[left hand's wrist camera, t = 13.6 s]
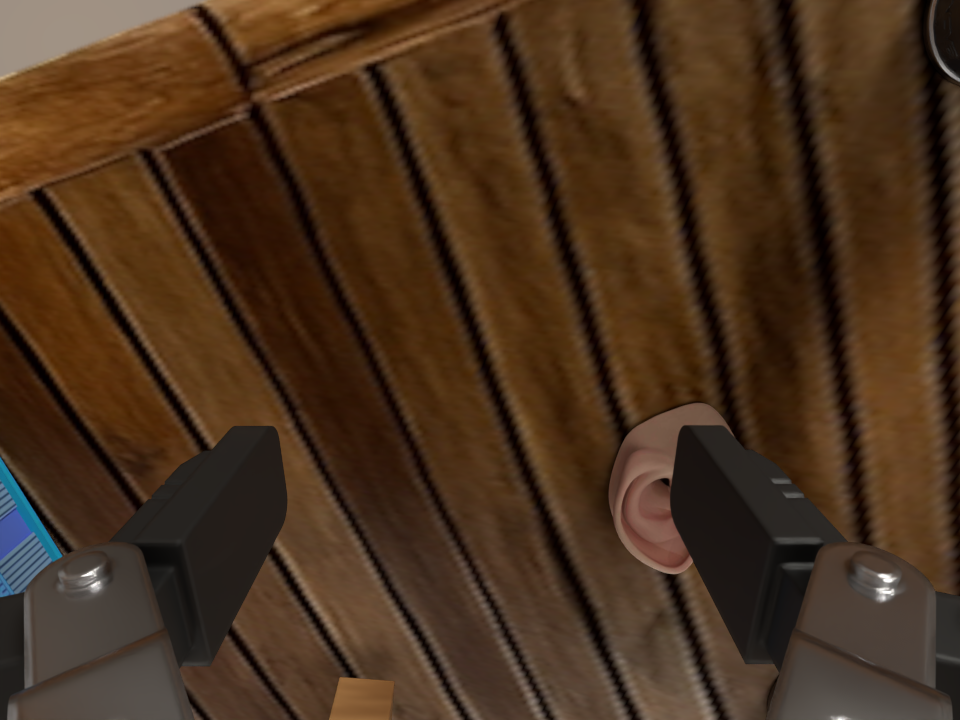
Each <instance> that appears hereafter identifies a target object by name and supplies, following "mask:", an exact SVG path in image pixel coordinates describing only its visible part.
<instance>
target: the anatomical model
mask: <svg viewBox="0 0 960 720" xmlns="http://www.w3.org/2000/svg"><path fill="white" fill-rule="evenodd" d="M684 425H723V426H725V427H726V428H727V429H728V431H729V432H730V433H731V434H732V435H733V433H732V431H731V430H730V428H729V426H728V425H727V423H726V422H725V420H724V419H723V418H722V416H721V415H720V414H719V413H718V412H717V411H716V410H715V409H714V408H713V407H711V406H710V405H708V404H705V403H693V404H688V405H685V406H681V407H678V408H675V409H673V410H670V411H667V412H665V413H662V414H659V415H657V416H655V417H653V418H651V419H649V420H647V421H645V422H644V423H642V424H640V425H638V426H637V427H635V428H634V429H633V430H631V431H630V432H629V434H628V435H627V436H626V437H625V439H624V441H623V443H622V445H621V447H620V450H619V452H618V455H617V458H616V461H615V464H614V467H613V470H612V474H611V479H610V484H609V505H610V509H611V513H612V516H613V521H614V525H615V528H616V531H617V533H618V535H619V538H620V539H621V541H622V543H623V544H624V545H625V547H626V548H627V549H628V551H629V552H630V553H631V554H632V555H634V556H635V557H636V558H637V559H638V560H640V561H641V562H643V563H645V564H646V565H648V566H650V567H652V568H654V569H656V570H659V571H661V572H665V573H669V574H678V573H681V572H683V571H685V570H686V569H687V568H688V567H689V566H690V565H691V563H692V562H693V560H692V558H691V556H690V554H689V552H688V550H687V548H686V546H685V544H684V542H683V541H682V539H681V537H680V535H679V533H678V531H677V529H676V527H675V525H674V522H673V519H672V515H671V509H670V490H671V483H672V476H673V469H674V462H675V454H676V447H677V440H678V435H679V431H680V429H681V428H682V426H684ZM733 436H734V435H733Z"/></svg>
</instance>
